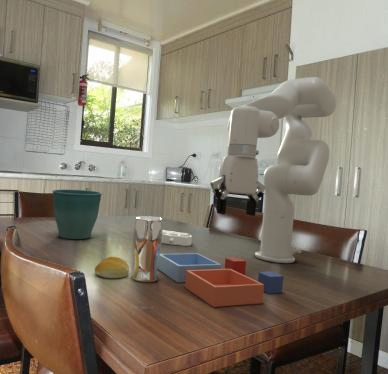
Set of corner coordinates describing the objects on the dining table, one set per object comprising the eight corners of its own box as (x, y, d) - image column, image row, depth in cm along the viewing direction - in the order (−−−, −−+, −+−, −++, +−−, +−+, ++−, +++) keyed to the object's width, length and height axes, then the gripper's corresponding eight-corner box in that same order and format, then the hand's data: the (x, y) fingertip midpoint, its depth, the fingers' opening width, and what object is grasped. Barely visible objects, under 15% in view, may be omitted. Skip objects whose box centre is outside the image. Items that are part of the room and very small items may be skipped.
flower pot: (75, 244, 125) (79, 194, 125) (39, 235, 135) (41, 189, 134) (108, 237, 141) (111, 193, 140) (73, 230, 150) (76, 189, 150)
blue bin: (196, 267, 105) (197, 253, 105) (220, 280, 94) (221, 264, 94) (157, 268, 101) (158, 253, 101) (177, 282, 90) (178, 265, 89)
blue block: (270, 287, 91) (271, 271, 91) (282, 292, 87) (283, 276, 87) (257, 288, 90) (258, 271, 90) (268, 293, 86) (269, 276, 86)
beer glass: (150, 285, 86) (154, 221, 85) (125, 278, 90) (129, 217, 89) (164, 278, 92) (168, 218, 91) (140, 272, 96) (144, 215, 95)
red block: (236, 271, 104) (237, 257, 104) (245, 275, 100) (246, 260, 100) (224, 271, 103) (225, 257, 103) (232, 276, 99) (233, 261, 99)
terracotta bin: (229, 285, 90) (230, 268, 90) (262, 303, 79) (264, 284, 79) (184, 287, 86) (186, 270, 86) (213, 307, 75) (215, 287, 75)
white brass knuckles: (197, 241, 145) (186, 247, 132) (155, 235, 152) (140, 240, 139) (198, 233, 145) (187, 238, 132) (155, 227, 152) (141, 231, 139)
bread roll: (91, 277, 89) (92, 260, 89) (101, 267, 98) (102, 253, 98) (124, 281, 88) (125, 264, 88) (131, 271, 97) (132, 256, 96)
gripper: (258, 155, 108) (253, 214, 108) (207, 149, 102) (201, 211, 102) (276, 155, 101) (270, 217, 101) (222, 148, 95) (216, 215, 95)
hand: (235, 214), depth 102 cm, fingers open, 9 cm apart
